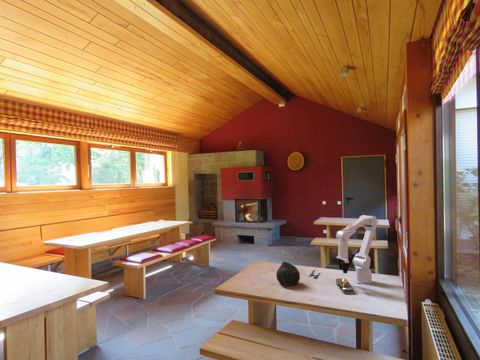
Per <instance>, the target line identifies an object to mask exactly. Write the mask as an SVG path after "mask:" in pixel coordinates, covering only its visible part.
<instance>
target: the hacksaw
mask: <svg viewBox="0 0 480 360" xmlns="http://www.w3.org/2000/svg"><path fill="white" fill-rule="evenodd" d="M315 271H319V270H316V269H314V270H312V271H311V273H310V274H309V277H312V278H313V279H315V280H317V278H318V277H319V276H320V275H321V272H318V274H317V275H315V274H314V273H315Z"/></svg>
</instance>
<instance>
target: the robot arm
mask: <svg viewBox="0 0 480 360" xmlns="http://www.w3.org/2000/svg"><path fill="white" fill-rule="evenodd" d="M378 223H379V220H378V218H377V217H376V216H374V215H367V214H362V215H360V216H359V217H358V219H357V220H356V221H355V222H354V223H353V224H347V226H345V228H343V229H341V230H338V231H337V232H336V235H335V237H336V240H337V248H338V249H337V252H338V253H337V256H336V261H337V264H338V269H339V270H341V271H342V273H343V274H348V272H349V268H350V266H351V262H350V261H349V251H348V250H349V249H348V248H349V247H348V246H349V245H348V241H349V240H350V238H351V236H352V235H354V234H355V233H356V232H357V229H358V228H360V227H363V228H364V229H365V233H364V237H363V240H362V243H361V246H360V249H359V252H358V253H355V254H354V255H355V256H354V257H353V259H352V265H353V266H354V268H355V278H353V281H354V282H355V283H356V284H373V280H372V278H373V277H372V275H373V273H372V269H371V268H370V266H371V260H372V259H371V257H370V255H369V252H370V249H371V246H372V243H373V239H374V236H375V232H376V229H377V226H378Z"/></svg>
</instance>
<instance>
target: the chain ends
mask: <svg viewBox="0 0 480 360" xmlns="http://www.w3.org/2000/svg"><path fill="white" fill-rule="evenodd" d="M342 279H343V278H335V285H336V286H337V287H338V289H339V290H340V291H341V292H342V294H343V295H355V288H354V287H352V286H353V285H352V284H351V283H350V282H349V280H347V284H343V280H342ZM343 287H347V288H343Z"/></svg>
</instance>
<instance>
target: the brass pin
mask: <svg viewBox="0 0 480 360" xmlns="http://www.w3.org/2000/svg"><path fill="white" fill-rule="evenodd" d="M341 279H342V280H343V284H347V281H348V279H347V278H341ZM343 288H347V287H343Z"/></svg>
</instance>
